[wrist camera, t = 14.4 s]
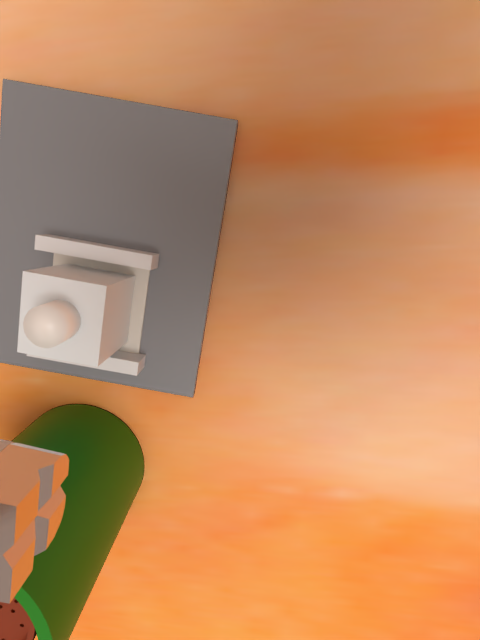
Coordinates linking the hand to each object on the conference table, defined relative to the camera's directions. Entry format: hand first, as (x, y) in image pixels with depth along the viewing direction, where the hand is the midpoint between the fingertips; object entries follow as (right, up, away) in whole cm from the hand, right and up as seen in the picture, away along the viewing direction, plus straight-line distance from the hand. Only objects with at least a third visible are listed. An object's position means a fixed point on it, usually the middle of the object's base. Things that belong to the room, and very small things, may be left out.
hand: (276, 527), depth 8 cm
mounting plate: (-10, +9, +24) cm, 27 cm away
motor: (-13, -7, +27) cm, 31 cm away
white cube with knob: (-11, +5, +24) cm, 27 cm away
